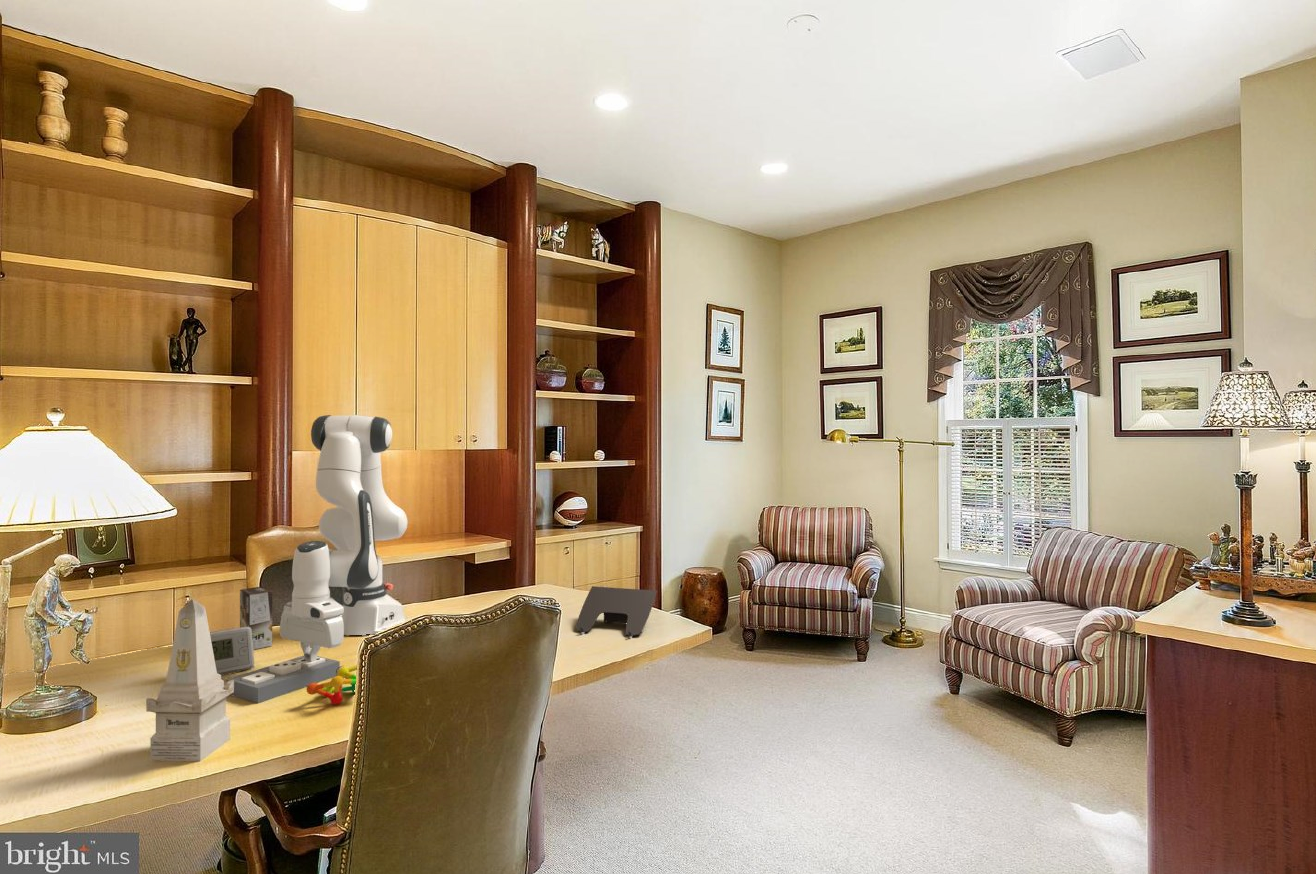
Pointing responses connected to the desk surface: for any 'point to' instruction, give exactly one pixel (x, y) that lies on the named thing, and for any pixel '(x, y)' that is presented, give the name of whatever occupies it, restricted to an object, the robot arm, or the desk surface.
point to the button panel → (283, 681)
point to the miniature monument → (190, 695)
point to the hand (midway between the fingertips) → (310, 659)
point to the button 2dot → (310, 662)
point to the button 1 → (258, 677)
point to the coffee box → (257, 615)
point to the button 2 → (284, 667)
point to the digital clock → (232, 650)
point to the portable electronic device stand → (617, 608)
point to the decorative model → (335, 685)
